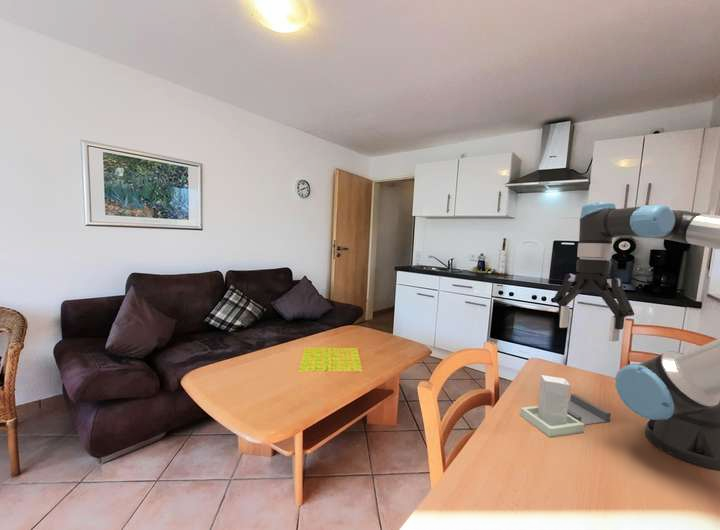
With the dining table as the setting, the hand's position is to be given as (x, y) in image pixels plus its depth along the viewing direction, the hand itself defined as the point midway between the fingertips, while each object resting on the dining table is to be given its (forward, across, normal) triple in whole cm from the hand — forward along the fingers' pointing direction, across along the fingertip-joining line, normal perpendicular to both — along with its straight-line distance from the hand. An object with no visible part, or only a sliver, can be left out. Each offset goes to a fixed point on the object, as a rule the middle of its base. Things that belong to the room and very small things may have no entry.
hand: (586, 333), depth 87 cm
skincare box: (+24, 0, +12) cm, 27 cm away
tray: (+24, 0, +12) cm, 27 cm away
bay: (+24, +1, 0) cm, 24 cm away
